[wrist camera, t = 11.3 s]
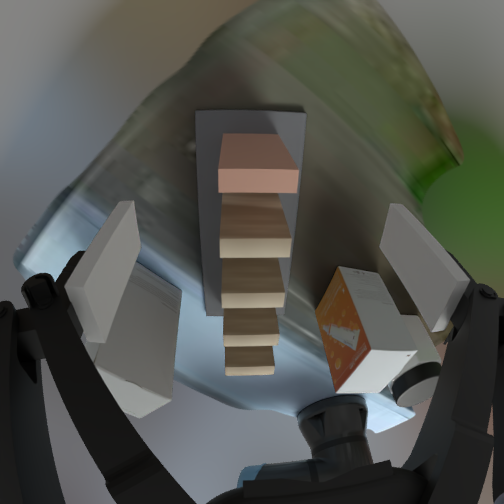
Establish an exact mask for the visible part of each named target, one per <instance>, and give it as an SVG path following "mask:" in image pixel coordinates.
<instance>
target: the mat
mask: <svg viewBox="0 0 504 504" xmlns="http://www.w3.org/2000/svg"><path fill="white" fill-rule="evenodd" d="M306 116H307V113H305V112H291V111H271V110H196V111H195V128H196V163H197V187H198V208H199V225H200V241H201V256H202V269H203V282H204V294H205V305H206V316H224V308H222V297H221V289H222V259H223V258H220V223H221V208H222V194H223V193H219V186H218V167H219V160H220V152H221V145H222V138H223V134H224V133H242V134H278V135H279V136H280V138H281V140H282V142H283V143H284V145H285V147H286V148H287V150H288V152H289V153H290V155H291V157H292V159H293V160H294V162H295V164H296V165H297V167H298V169H299V176H298V187H297V193H278V195H279V199H280V202H281V205H282V208H283V211H284V215H285V218H286V221H287V224H288V228H289V231H290V234H291V237H292V241H291V250H290V257H278V260H279V265H280V270H281V275H282V280H283V284H284V289H285V298H284V305H283V307H275V308H276V315H284V313H285V306H286V298H287V291H288V284H289V276H290V268H291V261H292V253H293V244H294V236H295V228H296V219H297V210H298V201H299V191H300V182H301V172H302V161H303V151H304V140H305V128H306Z"/></svg>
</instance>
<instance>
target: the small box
mask: <svg viewBox="0 0 504 504" xmlns="http://www.w3.org/2000/svg"><path fill="white" fill-rule="evenodd" d="M315 314H316V318H317V322H318V325H319V329H320V333H321V336H322V341H323V344H324V348H325V352H326V356H327V360H328V364H329V368H330V372H331V376H332V380H333V384H334V389H335V393H379V392H380V391H381V390H382V389H383V388H384V387H385V386H386V385H387V384H388V383H389V382H390V381H391V380H392V379H393V378H394V377H395V376H396V375H397V374H398V373H399V372H400V371H401V370H402V369H403V367H404V366H405V365H406V364H407V362H408V361H409V360H410V359H411V358H412V356H413V355H414V354H415V353H416V352H417V351H418V349H417V347H416V345H415V343H414V341H413V339H412V337H411V335H410V333H409V331H408V329H407V327H406V325H405V323H404V321H403V319H402V317H401V315H400V313H399V311H398V309H397V307H396V305H395V303H394V301H393V299H392V297H391V295H390V294H389V292H388V290H387V288H386V286H385V284H384V282H383V281H382V279H381V277H380V275H379V274H378V273H374V272H369V271H364V270H358V269H353V268H347V267H341V266H338V267H337V269H336V271H335V274H334V276H333V278H332V280H331V282H330V284H329V286H328V288H327V290H326V292H325V294H324V296H323V298H322V299H321V301H320V303H319V305H318V307H317V309H316V310H315Z"/></svg>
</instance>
